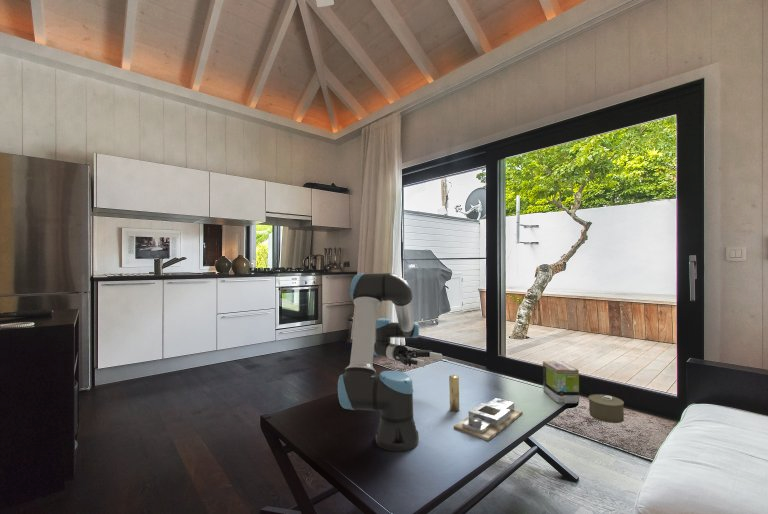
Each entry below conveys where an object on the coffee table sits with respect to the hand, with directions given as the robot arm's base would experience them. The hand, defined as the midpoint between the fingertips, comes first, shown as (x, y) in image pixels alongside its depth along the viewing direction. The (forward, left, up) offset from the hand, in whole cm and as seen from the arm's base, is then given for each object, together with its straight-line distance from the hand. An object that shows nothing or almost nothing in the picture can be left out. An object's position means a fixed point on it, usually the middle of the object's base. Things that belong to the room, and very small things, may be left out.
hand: (433, 360), depth 156 cm
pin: (0, -11, -19) cm, 22 cm away
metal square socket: (0, -27, -19) cm, 33 cm away
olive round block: (+34, -60, -19) cm, 71 cm away
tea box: (+44, -40, -19) cm, 62 cm away
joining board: (0, -27, -19) cm, 33 cm away
